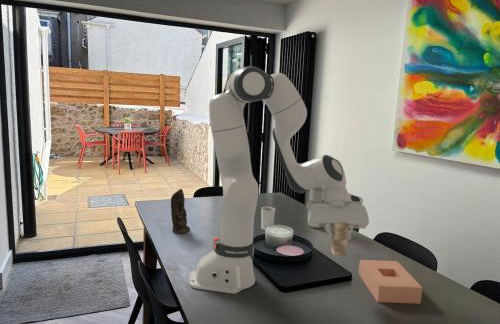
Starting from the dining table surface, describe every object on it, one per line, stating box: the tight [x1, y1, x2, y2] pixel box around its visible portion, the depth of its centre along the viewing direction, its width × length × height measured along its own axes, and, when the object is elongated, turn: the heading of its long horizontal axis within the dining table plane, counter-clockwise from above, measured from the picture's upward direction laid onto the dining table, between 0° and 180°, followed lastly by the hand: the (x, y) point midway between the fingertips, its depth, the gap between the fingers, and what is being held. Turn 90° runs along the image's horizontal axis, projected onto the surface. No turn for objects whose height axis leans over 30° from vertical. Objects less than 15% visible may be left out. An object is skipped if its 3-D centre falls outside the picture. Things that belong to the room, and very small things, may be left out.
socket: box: [357, 259, 423, 305], centre depth 131 cm, size 14×20×6 cm
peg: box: [330, 222, 349, 257], centre depth 125 cm, size 4×4×10 cm
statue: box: [170, 188, 191, 235], centre depth 173 cm, size 7×7×20 cm
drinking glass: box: [260, 206, 276, 231], centre depth 184 cm, size 7×7×10 cm
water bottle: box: [307, 186, 323, 229], centre depth 191 cm, size 9×8×25 cm
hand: (340, 238), depth 124 cm, fingers closed on peg, 4 cm apart
